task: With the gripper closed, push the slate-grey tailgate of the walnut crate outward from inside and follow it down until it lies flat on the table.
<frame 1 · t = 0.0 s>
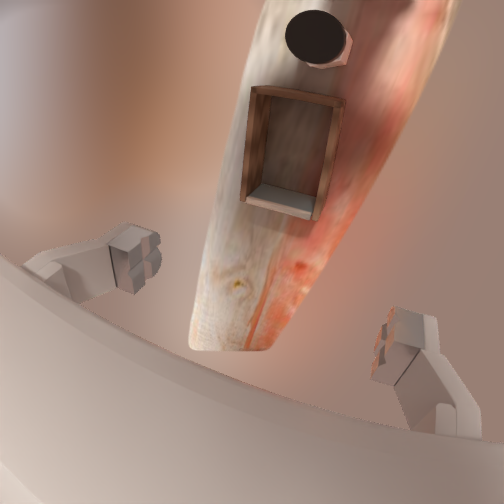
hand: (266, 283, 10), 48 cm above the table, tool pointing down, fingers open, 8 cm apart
crate: (298, 144, 55), on the table
jar: (327, 45, 44), on the table
tailgate: (284, 200, 57), point 4 cm above the table, hinge at 0.0°
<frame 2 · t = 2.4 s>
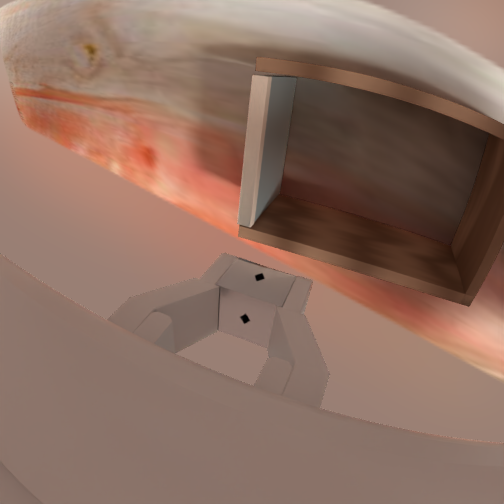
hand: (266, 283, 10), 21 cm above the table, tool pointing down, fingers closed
crate: (384, 160, 26), on the table
tailgate: (269, 144, 25), point 4 cm above the table, hinge at 0.0°
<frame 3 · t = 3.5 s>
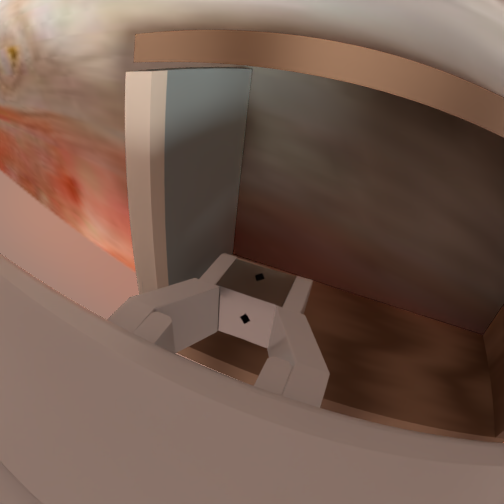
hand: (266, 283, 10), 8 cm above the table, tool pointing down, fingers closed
crate: (400, 212, 15), on the table
tailgate: (196, 191, 14), point 4 cm above the table, hinge at 0.0°
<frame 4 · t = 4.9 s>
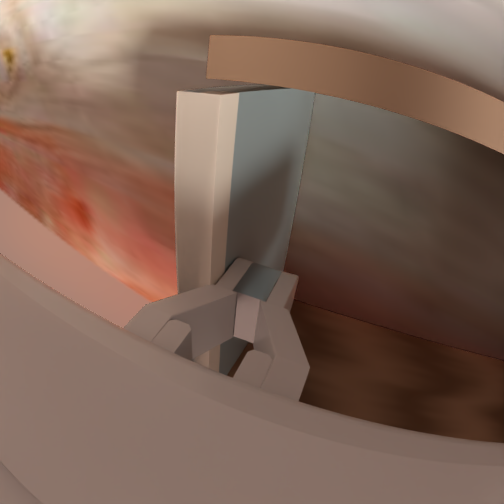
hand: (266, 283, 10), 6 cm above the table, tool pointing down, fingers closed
crate: (465, 255, 13), on the table
tailgate: (251, 239, 12), point 4 cm above the table, hinge at 3.4°, touching gripper
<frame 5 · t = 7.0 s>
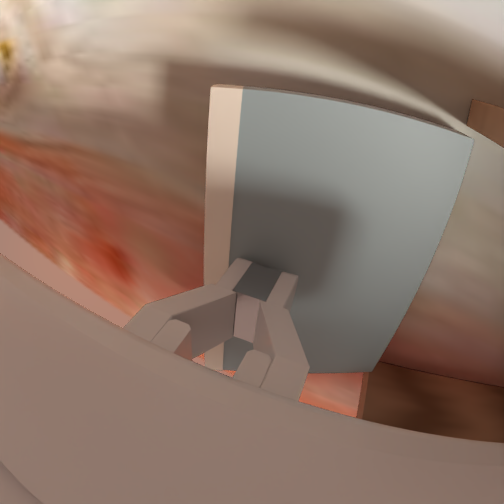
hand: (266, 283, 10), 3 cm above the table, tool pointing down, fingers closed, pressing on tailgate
tailgate: (321, 268, 11), point 2 cm above the table, hinge at 70.4°, touching gripper
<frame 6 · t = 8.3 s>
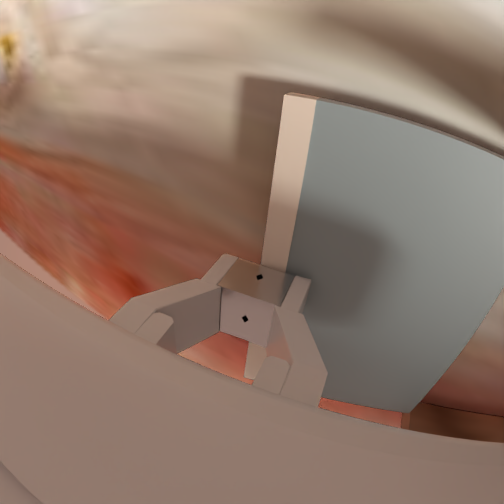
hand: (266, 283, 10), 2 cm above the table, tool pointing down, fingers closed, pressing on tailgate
tailgate: (377, 298, 10), point 1 cm above the table, hinge at 85.6°, touching gripper
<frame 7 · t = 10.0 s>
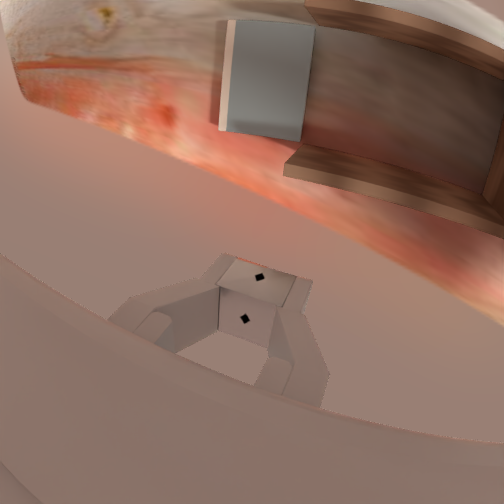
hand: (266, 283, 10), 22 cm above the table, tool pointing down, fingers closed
crate: (416, 109, 24), on the table
tailgate: (265, 77, 26), point 1 cm above the table, hinge at 85.6°
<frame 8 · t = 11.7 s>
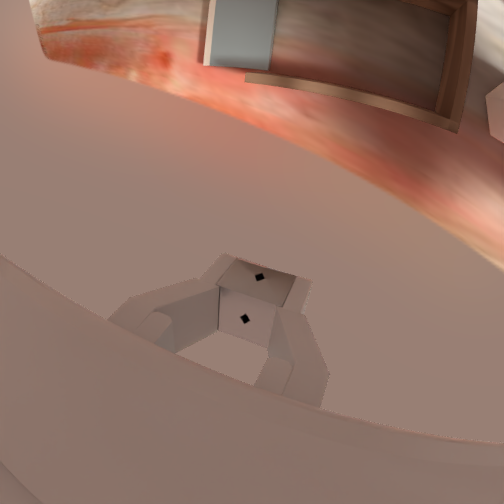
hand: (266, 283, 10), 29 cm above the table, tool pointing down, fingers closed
crate: (365, 39, 27), on the table
tailgate: (240, 23, 30), point 1 cm above the table, hinge at 85.6°
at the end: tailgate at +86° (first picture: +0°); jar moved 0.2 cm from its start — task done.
